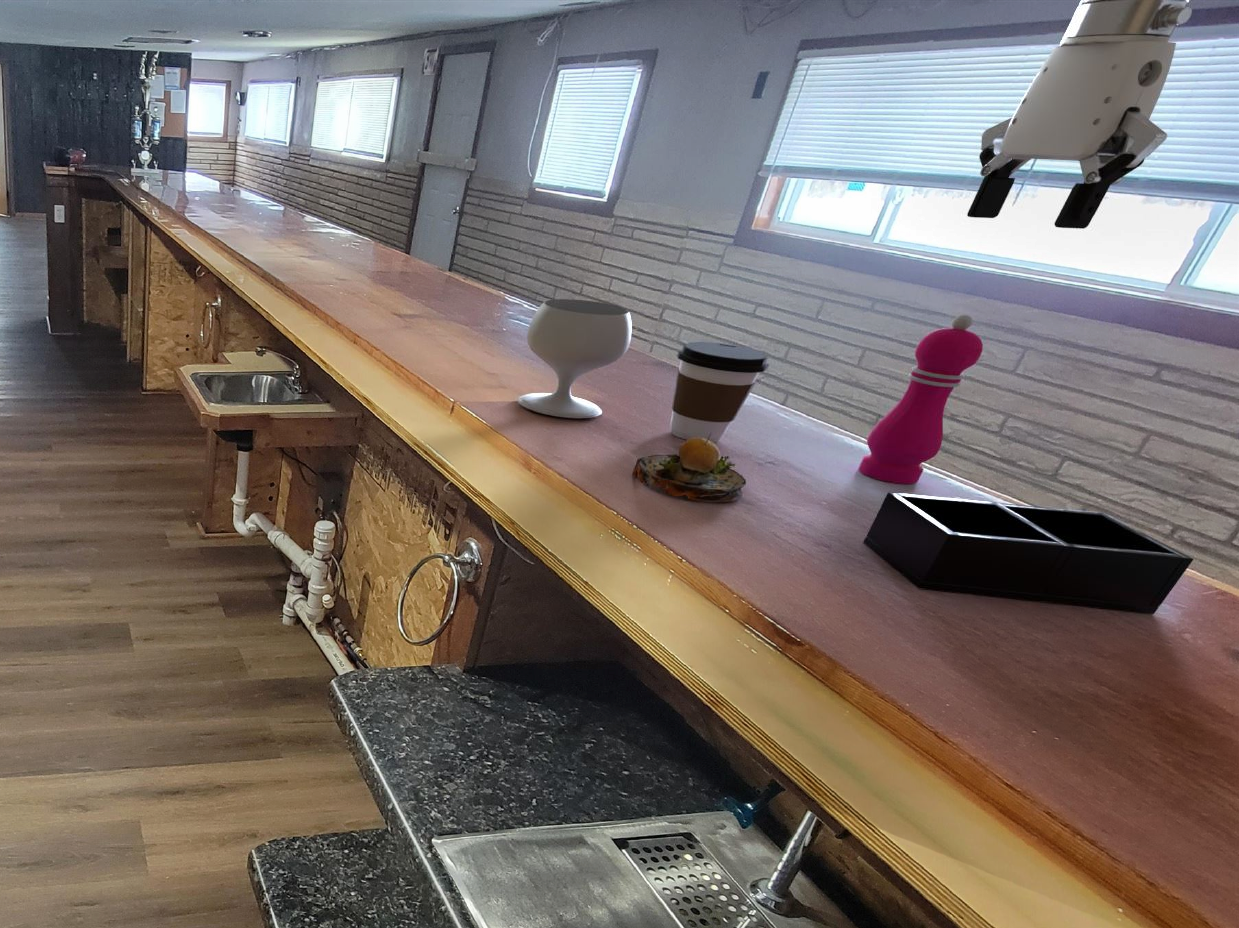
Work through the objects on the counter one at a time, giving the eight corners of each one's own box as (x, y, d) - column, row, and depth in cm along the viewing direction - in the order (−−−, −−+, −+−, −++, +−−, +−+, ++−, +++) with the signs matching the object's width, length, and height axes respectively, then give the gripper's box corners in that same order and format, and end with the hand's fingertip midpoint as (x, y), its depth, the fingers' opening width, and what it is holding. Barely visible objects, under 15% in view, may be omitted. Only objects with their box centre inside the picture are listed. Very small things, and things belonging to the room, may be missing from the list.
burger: (749, 484, 102) (773, 425, 98) (731, 513, 94) (756, 450, 90) (645, 459, 108) (663, 403, 105) (620, 484, 100) (639, 424, 96)
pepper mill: (898, 467, 110) (976, 310, 100) (935, 488, 103) (1022, 323, 93) (841, 463, 110) (912, 307, 100) (875, 483, 104) (954, 319, 94)
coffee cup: (658, 418, 125) (685, 337, 119) (741, 434, 119) (774, 350, 113) (646, 436, 117) (675, 350, 111) (735, 454, 111) (769, 365, 105)
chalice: (613, 427, 120) (645, 320, 112) (511, 415, 123) (536, 310, 116) (602, 401, 131) (631, 303, 124) (510, 390, 135) (532, 294, 127)
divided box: (1071, 564, 86) (1104, 512, 83) (1154, 614, 77) (1194, 558, 74) (862, 542, 88) (887, 492, 85) (919, 588, 79) (949, 534, 76)
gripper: (1263, 21, 72) (1143, 233, 81) (1064, 37, 87) (980, 215, 96) (1188, 16, 71) (1074, 231, 80) (1000, 33, 86) (921, 212, 95)
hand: (1023, 222), depth 88 cm, fingers open, 9 cm apart
